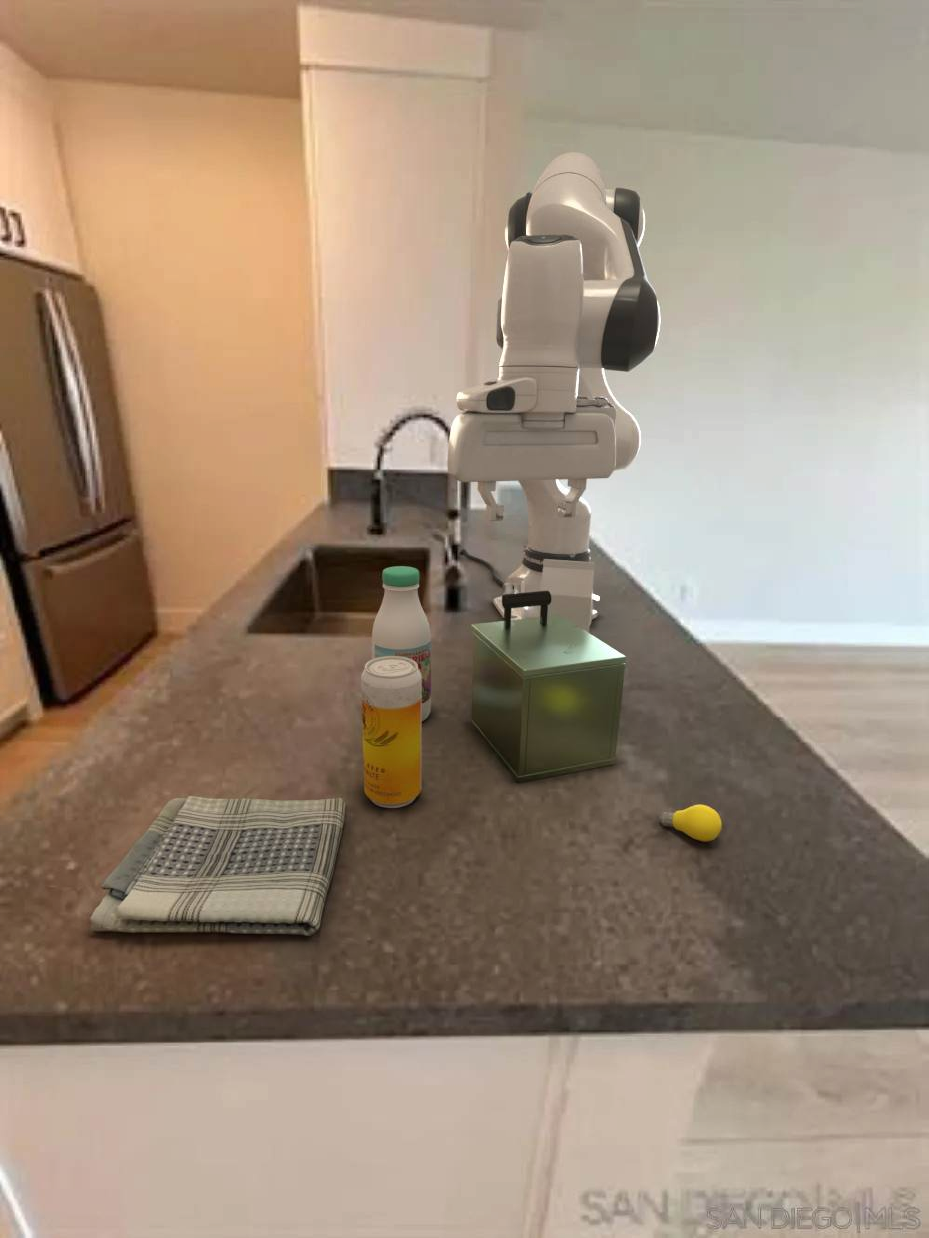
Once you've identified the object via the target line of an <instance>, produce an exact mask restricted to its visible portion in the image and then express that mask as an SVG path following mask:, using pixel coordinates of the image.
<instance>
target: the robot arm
mask: <svg viewBox="0 0 929 1238" xmlns="http://www.w3.org/2000/svg"><path fill="white" fill-rule="evenodd" d="M645 225H646V215H645V211H644V207H643V204H642V203H641V197H640V196H639V194H638V193H637V191H636V190H632V189H629V188H625V187H616V188H615V189H610V188H609V189H608V188H606V186H605V182H604V178H603V175H602V173H601V170H600V168H599V166H598V164H597V163H596V162H595V161H594V160H593V159H592V158H591V157H590V156H588V155H586V154H584V153H583V152H577V151H571V152H565V153H562V154H560V155H558V156H557V157H555V158H554V159H552V160H551V161H550V162H549V163H548V165H547V166H546V167H545V168H544V170H543V171H542V172H541V175H540V176H539V178H538V179H537V182H536V184H535V186H534V188H533V191H528V192H527V193H525V195H524V196H522V197H520V198H518V199H517V200H515V202H514V203H513V204H512V205H511V206H510V208H509V210H508V215H507V218H506V222H505V228H504V239H505V244H506V249H507V252H508V254H507V258H506V265H505V270H504V278H503V286H502V295H501V297H500V299H499V300H498V301H497V307H496V336H495V337H496V338H495V339H496V344H497V345H498V347H500V349H501V350H502V353H501V356H500V359H499V365H498V366H499V367H498V377H497V378H495V379H493V380H490V381H486V382H483V383H481V384H478V385H475V386H471V387H468V388H465V389H463V390H460V391H459V392H458V393H457V395H456V406H457V408H458V410H460V411H463V412H461V413H459V414H457V416H456V417H455V418H454V420H453V422H452V424H451V428H450V433H449V438H448V439H449V440H448V449H447V450H448V451H447V471H448V473H449V474H450V476H451V477H452V479H454V480H455V481H458V482H461V483H477V491H478V493H479V495H480V497H481V498H482V501H483V502H484V504H485V505H486V506H485V517H486V518H485V519H486V520H487V521H489V522H498V521H503V520H504V514H503V513H504V509H505V506H504V505H503V504H500V503H497V502H496V500H495V498H494V495H493V493H492V492H496V490H497V482H518V484H520V486H521V489H522V491H523V493H524V496H525V500H526V504H527V511H528V542H527V545H523V548H524V549H523V554H522V555H523V557H522V561H521V563H522V564H521V565H520V566H519V567H518V568H517V569H516V570H514V571H513V572H512V573H511V574H509V575H508V576H507V577H506V582H503V581H502V580H501V579H500V578H499V577H498V576H497V575H498V572H497V569H495V567H494V566H493V565H492V564H491V563H489V562H488V561H487V560H484V559H482V558H479V557H477V556H474V555H471V554H470V553H468V550H467V549H465V548H462V549H461V550H460V551H461V552H459V554H460V553H461V554H460V555H464V556H465V557H466V558H467V559H468V560H471V561H474V562H477V563H480V564H482V565H484V566H486V567H487V568H488V569H489V570H490V571H491V573H492V579H493V580H494V581H495V582H496V583H497V585H499V586H500V587H501V588H502V595H501V596H497V597H494V599H493V605H494V607H495V608H496V609H497V611H498V612H499V614H500V615H501V617H502V618H503V619H504V608H503V605H502V596H503V595H504V594H513V593H525V592H536V591H540V588H541V580H542V572H543V562H544V559H550V560H565V561H581V562H591V559H592V558H591V550H590V548H589V543H590V533H591V522H592V521H591V519H592V510H591V507H590V505H589V503H588V502H587V501H586V499H584V498H583V497H582V496H583V494H584V492H585V491H586V490H587V482H588V480H591V479H592V480H595V479H609V478H610V477H611V475H613V473H614V472H615V471H620V470H626V469H627V468H628V467H630V465H631V464H633V462H634V461H635V460H636V458H637V456H638V454H639V451H640V449H641V442H642V436H641V435H642V434H641V430H640V426H639V424H638V422H637V420H636V418H635V417H634V416H633V415H632V413H630V411H627V410H626V409H625V408H624V407H623V406H622V405H621V404H620V403H619V401H617V399H616V398H615V396H614V395H613V393H612V391H611V389H610V388H609V385H608V382H607V379H606V375H605V370H606V371H616V372H623V373H624V372H625V373H630V372H632V371H633V370H635V369H636V368H637V367H639V366H640V365H641V364H643V363H645V361H646V360H647V359H648V358H650V357H651V355H653V353H654V351H655V347H656V345H657V342H658V339H659V335H660V334H659V333H660V327H661V310H660V305H659V301H658V296H657V293H656V291H655V289H654V288H653V286H652V284H651V283H650V282H649V279H648V276H647V273H646V269H645V266H644V263H643V260H642V256H641V252H640V249H639V247H640V245H641V243H642V241H643V240H642V239H643V237H644V233H645V228H646V227H645ZM559 480H567V487H569V488H570V489H568V488H566V487H564V486H563V485H562V484H561V483H560V481H559ZM594 600H595V601H597V602H599V601H600V596H599V595H596V594H595V593H594V588H593V589H592V601H591V613H590V625H589V627H590V626H591V624H592V621H593V620H594V619H596V618H597V617H598V611H597V610H595V609H594ZM538 617H539V606H531V607H521V608H511V620H519V619H528V618H538Z"/></svg>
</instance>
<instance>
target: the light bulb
mask: <svg viewBox="0 0 929 1238" xmlns="http://www.w3.org/2000/svg"><path fill="white" fill-rule="evenodd" d="M659 822H661V824H662V826H663V827H670V828H671V827H672V828H674V829H675V830H676V831H679V832H683V833H684V834H685V835H687V836H688V837H690V838H692V839H694V840H697V841H700V842H702V843H703V842H711V841H713V840H715V839H716V838H717V837H718V836H719V835H720V833H721V831H722V826H723V825H722V824H723V823H722V819H721V816H720V814H719V813H718V812H717V811H716V809H713V808H712V807H711V806H708V805H705V804H693V805H691V806H689V807H687V808H685V809H683V810H682V809H681V810H676V811H675V812H667V811H664V812H663V813H662V814H661V815H660V816H659Z"/></svg>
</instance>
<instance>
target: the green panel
mask: <svg viewBox="0 0 929 1238" xmlns="http://www.w3.org/2000/svg"><path fill="white" fill-rule="evenodd" d="M501 596H502V605H503V608H504V618H503V620H500V621H490V622H481V623H472V624H471V625H470V631H472V632H473V633H475V634H476V635H477V636H478V637H480V638H481V639H482V640H483V641H484V642H485V643H486V644H487V645H488V646H490V647H491V648H492V649H493V650H494V651H495V652H496V653H497V654H499V655H500V656H501V657H502V658H503V659H504V660H505V661H506V662H508V663H509V664H510V665H511V666H512V667H513V668H514V669H515V670H516V671H518V672H519V673H520V674H521V675H522V676H523V677H527V676H535V675H542V674H549V673H557V672H564V671H571V670H579V669H586V668H593V667H601V666H608V665H616V664H623V663H625V664H626V662H627V656H626V655H625V654H623V653H621V652H620V651H618V650H616V649H614V648H613V647H611V646H610V645H608V644H607V643H605V642H604V641H602V640H600V639H599V638H598V637H596V636H595V635H592V634H591V633H590V632H589V633H588V632H586V631H585V630H583V629H581V628H580V627H578V626H577V625H575V624H574V623H572V622H570V621H569V620H567V619H566V618H564V617H562V616H561V615H557V616H548V617H547V613H548V605H549V604H550V603H551V593H550V592H549V591H536V592H525V593H513V594H502V595H501ZM531 606H541V610H540V617H538V618H528V619H519V620H511V608H521V607H531Z"/></svg>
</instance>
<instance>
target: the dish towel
mask: <svg viewBox="0 0 929 1238" xmlns="http://www.w3.org/2000/svg"><path fill="white" fill-rule="evenodd" d="M346 814H347V803H346V802H345V800H343V798H341V797H335V798H334V797H333V798H321V799H307V800H303V799H299V800H296V799H290V800H289V799H288V800H274V799H260V798H207V797H202V796H193V795H192V796H191V795H189V796H187V798H184V797H174V798H173V799H170V800H168V802H167V803H166V804H165V805H164V806H163V807H162V809H161V811H160V812H159V813H158V814H157V817H156V818H155V819H154V820H153V821H152V822H151V824H150V825H149V827H148V829H147V830H146V831H145V832H144V833H143V834H142V835H141V836H140V837H139V839H138V840H137V841H136V842H135V843H133V844H132V847H131V848H130V849H129V851H128V852H127V854H126V855H125V856H123V858H122V859H121V861H120V862H119V863H118V864H117V866H116V867H115V868H114V869H113V870H112V872H111V873H110V874H109V875H107V877H106V878H105V880H104V881H103V883H102V884H101V885H100V887H101V889H102V890H109V891H108V893H107V894H106V895H105V896H104V897H103V898H102V900H101V901H100V903H99V905H98V906H97V907H96V908H95V909H94V910H93V912H92V915H90V918H89V919H90V923H91V925H90V931H92V932H93V931H94V932H115V933H116V932H117V933H118V932H119V933H133V934H135V933H228V934H229V933H230V934H238V935H239V934H245V935H246V934H247V935H248V934H250V935H254V934H255V935H299V936H305V937H311V936H312V935H314V934H315V933H317V932H318V930H319V929H320V926H321V921H322V917H323V910H324V908H325V903H326V899H327V895H328V891H329V889H330V885H331V882H332V879H333V876H334V871H335V865H336V861H337V855H338V852H339V847H340V843H341V841H342V840H341V839H342V835H343V829H344V825H345V821H346Z"/></svg>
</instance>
